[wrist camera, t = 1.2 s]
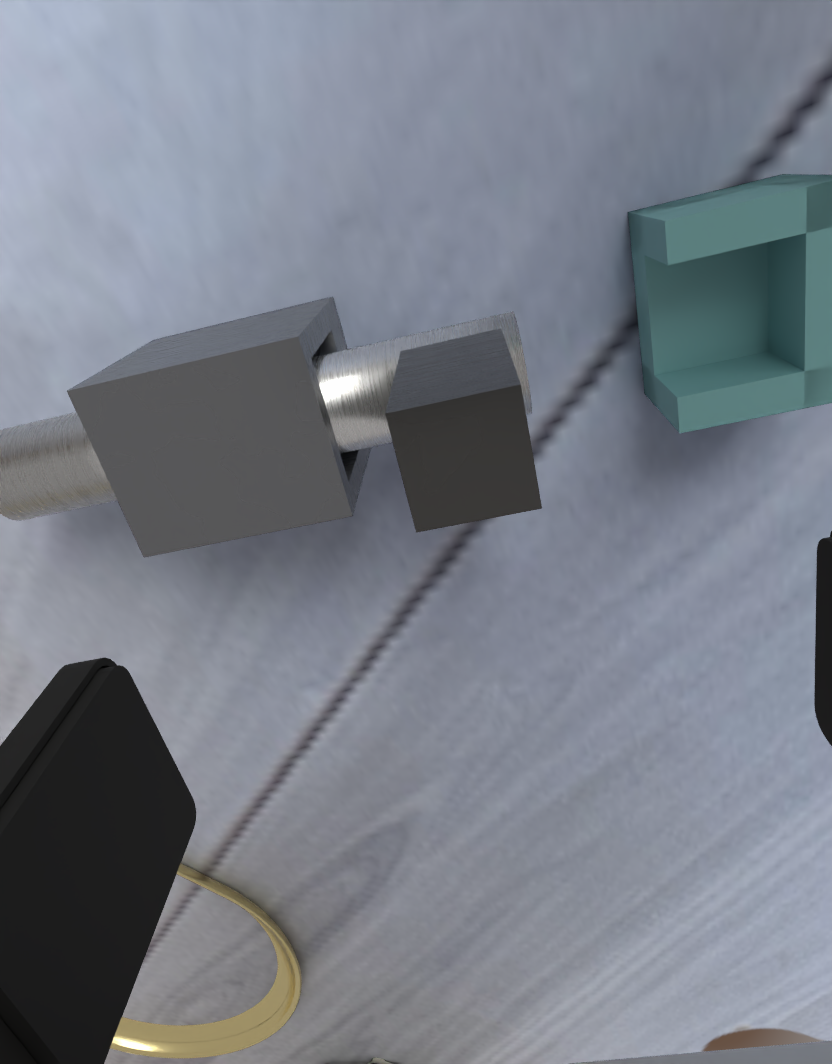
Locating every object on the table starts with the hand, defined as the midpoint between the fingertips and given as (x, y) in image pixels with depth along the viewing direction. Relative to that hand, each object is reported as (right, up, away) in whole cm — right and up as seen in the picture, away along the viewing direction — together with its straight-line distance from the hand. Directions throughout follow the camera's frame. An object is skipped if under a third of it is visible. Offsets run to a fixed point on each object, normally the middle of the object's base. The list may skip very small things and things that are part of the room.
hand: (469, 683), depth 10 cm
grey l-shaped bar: (-6, +6, +15) cm, 18 cm away
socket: (+10, +11, +15) cm, 21 cm away
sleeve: (-6, +7, +18) cm, 20 cm away
